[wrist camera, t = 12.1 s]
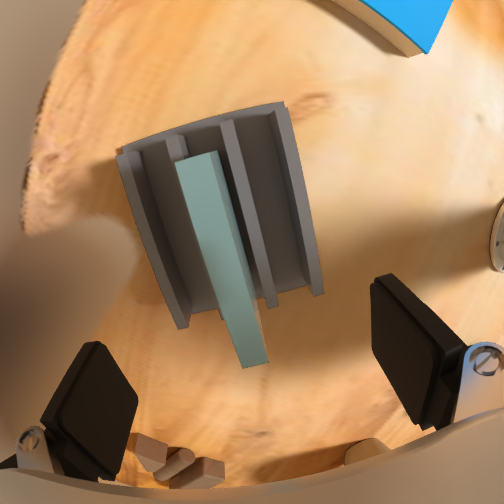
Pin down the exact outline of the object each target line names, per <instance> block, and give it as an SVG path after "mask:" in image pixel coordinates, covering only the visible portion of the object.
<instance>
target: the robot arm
mask: <svg viewBox="0 0 504 504" xmlns="http://www.w3.org/2000/svg"><path fill="white" fill-rule="evenodd" d="M490 253H491V260H492V263H493V265H494V267H495V268H496V269H497V270H498V271H500V272H502V273H504V203H503V205H502V206H501V208H500V210H499V212H498V214H497V216H496V219H495V222H494V226H493V229H492V235H491V243H490ZM370 297H371V330H372V351H373V354H374V356H375V357H376V359H377V361H378V363H379V364H380V366H381V368H382V369H383V371H384V373H385V375H386V376H387V378H388V380H389V381H390V383H391V385H392V387H393V388H394V390H395V392H396V394H397V396H398V397H399V399H400V401H401V403H402V404H403V406H404V408H405V410H406V412H407V413H408V415H409V417H410V419H411V421H412V422H413V424H414V425H417V424H419V425H420V427H421V429H422V431H424V430H426V429H428V428H430V427H432V426H434V427H435V429H436V431H435V432H433V433H431V434H428V435H426V436H423V437H421V438H419V439H417V440H415V441H412V442H410V443H407V444H405V445H403V446H400V447H398V448H395V449H393V450H390V451H387V452H385V453H382V454H379V455H376V456H373V457H370V458H367V459H364V460H361V461H358V462H355V463H352V464H349V465H346V466H342V467H339V468H335V469H332V470H328V471H324V472H320V473H316V474H312V475H307V476H303V477H298V478H293V479H288V480H282V481H277V482H270V483H264V484H256V485H248V486H239V487H228V488H213V489H154V488H139V487H128V486H119V485H111V484H104V483H99V482H98V477H100V478H101V479H103V480H109V481H115V478H116V474H118V473H119V471H120V468H121V464H122V460H123V456H124V452H125V448H126V445H127V441H128V437H129V434H130V430H131V427H132V423H133V420H134V416H135V413H136V409H137V406H138V396H137V394H136V392H135V391H134V390H133V388H132V387H131V385H130V384H129V382H128V381H127V379H126V378H125V376H124V374H123V373H122V371H121V370H120V368H119V367H118V365H117V363H116V362H115V360H114V359H113V357H112V355H111V354H110V352H109V350H108V349H107V347H106V346H105V345H104V344H102V343H101V342H100V341H93V342H87V343H85V344H84V345H83V346H82V348H81V349H80V351H79V353H78V354H77V356H76V357H75V359H74V361H73V362H72V364H71V366H70V367H69V369H68V371H67V372H66V374H65V376H64V377H63V379H62V381H61V382H60V384H59V386H58V388H57V390H56V391H55V393H54V395H53V397H52V398H51V400H50V402H49V404H48V406H47V408H46V410H45V411H44V413H43V415H42V417H41V419H40V422H41V423H42V424H43V425H44V426H45V427H46V429H45V431H44V430H43V429H42V428H41V427H40V426H36V425H33V426H29V427H27V428H26V429H24V430H23V431H22V432H21V433H20V434H19V436H18V438H17V440H16V454H14V455H13V456H11V457H9V458H8V459H6V460H5V461H3V462H1V463H0V504H504V348H503V347H502V346H500V345H498V344H496V343H492V342H480V343H477V344H474V345H473V346H471V347H470V348H468V347H467V345H466V344H465V343H464V342H463V341H462V340H461V339H460V338H459V337H458V336H457V335H456V334H455V333H454V332H453V331H452V330H451V329H450V328H449V327H448V326H447V325H446V324H445V323H444V322H443V321H442V320H441V319H440V318H439V317H438V316H437V315H436V314H435V313H434V312H433V311H432V310H431V309H430V308H429V307H428V306H427V305H426V304H424V303H423V302H422V301H421V300H420V299H419V298H418V297H417V296H416V295H415V294H414V293H413V292H412V291H410V290H409V289H408V288H407V287H406V286H405V285H404V284H403V283H402V282H401V281H400V280H399V279H398V278H397V277H395V276H394V275H393V274H392V273H389V274H386V275H383V276H380V277H376V278H375V280H374V283H372V284H371V285H370Z"/></svg>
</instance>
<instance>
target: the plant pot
mask: <svg viewBox="0 0 504 504" xmlns="http://www.w3.org/2000/svg"><path fill="white" fill-rule="evenodd" d="M387 451H390V449H389V448H388V447H387V446H386V445H385V444H383V443H382V442H381V441H380V440H378V439H376V438H371V439H367V440H363V441H361V442H359V443H357V444H355V445H353V446H352V447H350V448H349V449H348V450H347V451H346V453H345V462H344V466H346V465H349V464H352V463H355V462H358V461H361V460H364V459H367V458H370V457H373V456H376V455H379V454H382V453H385V452H387Z"/></svg>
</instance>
